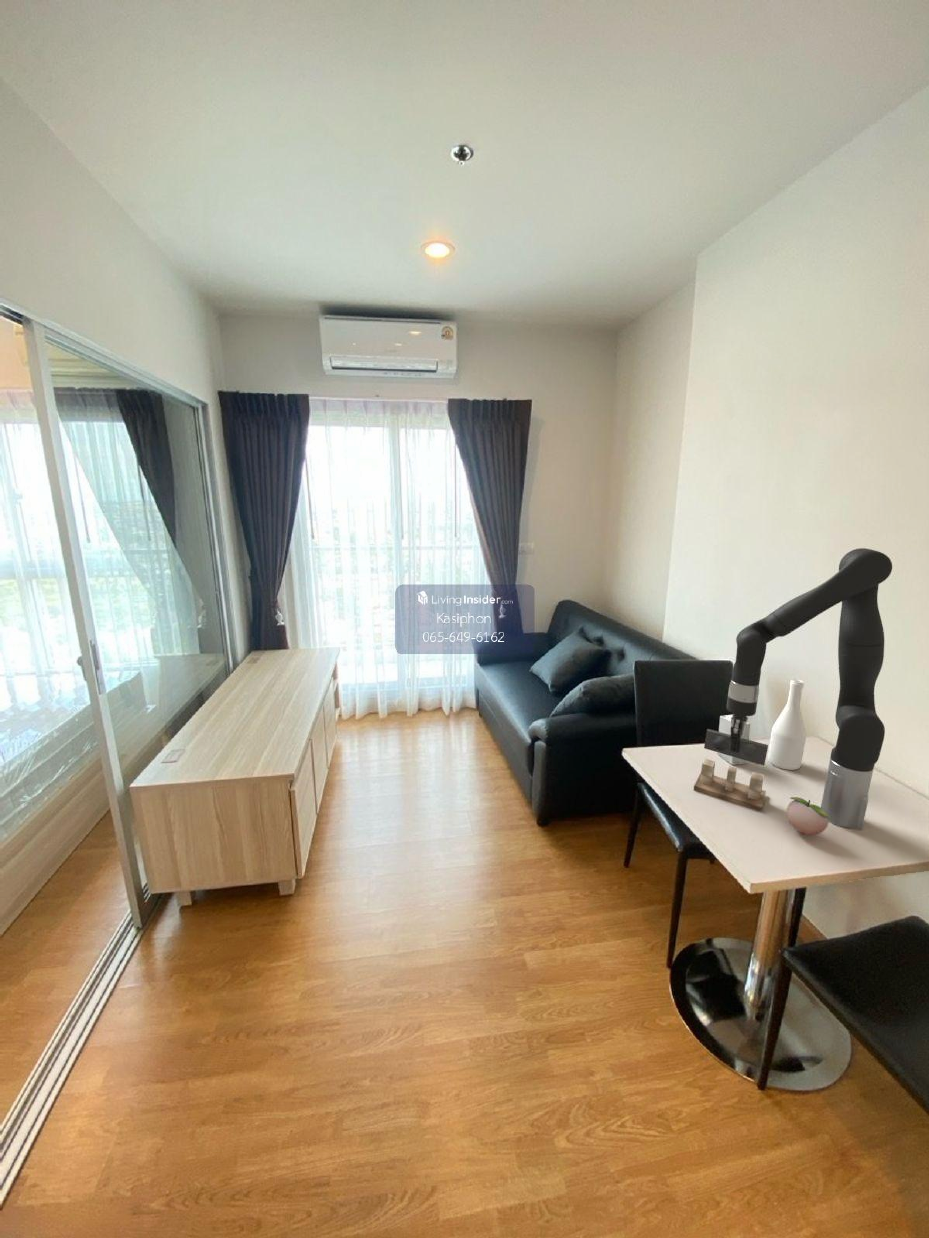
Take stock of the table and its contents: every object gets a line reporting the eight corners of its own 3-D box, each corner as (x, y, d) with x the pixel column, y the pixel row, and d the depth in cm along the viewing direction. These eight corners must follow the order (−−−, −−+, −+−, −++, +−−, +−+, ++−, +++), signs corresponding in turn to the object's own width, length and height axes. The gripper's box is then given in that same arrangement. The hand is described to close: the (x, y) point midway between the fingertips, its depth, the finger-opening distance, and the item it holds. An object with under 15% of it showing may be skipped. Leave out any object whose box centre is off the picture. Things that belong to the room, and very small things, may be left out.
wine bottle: (761, 760, 163) (774, 678, 156) (777, 753, 167) (790, 674, 160) (790, 773, 155) (805, 688, 148) (806, 766, 159) (821, 682, 152)
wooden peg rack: (765, 795, 143) (769, 771, 142) (761, 811, 136) (765, 787, 134) (700, 775, 154) (703, 753, 152) (693, 790, 146) (696, 766, 144)
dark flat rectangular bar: (764, 763, 138) (768, 745, 136) (764, 765, 137) (767, 747, 135) (705, 746, 147) (707, 728, 146) (704, 748, 146) (706, 730, 145)
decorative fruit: (777, 830, 128) (782, 797, 126) (789, 818, 133) (794, 786, 130) (818, 849, 121) (825, 815, 118) (829, 836, 125) (835, 803, 123)
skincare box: (747, 764, 161) (752, 724, 157) (730, 765, 160) (736, 725, 157) (730, 751, 169) (735, 713, 165) (714, 753, 168) (719, 714, 165)
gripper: (754, 707, 130) (746, 763, 134) (760, 692, 140) (752, 745, 145) (724, 700, 134) (716, 755, 138) (732, 686, 145) (724, 738, 149)
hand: (734, 750), depth 142 cm, fingers closed on dark flat rectangular bar, 1 cm apart
